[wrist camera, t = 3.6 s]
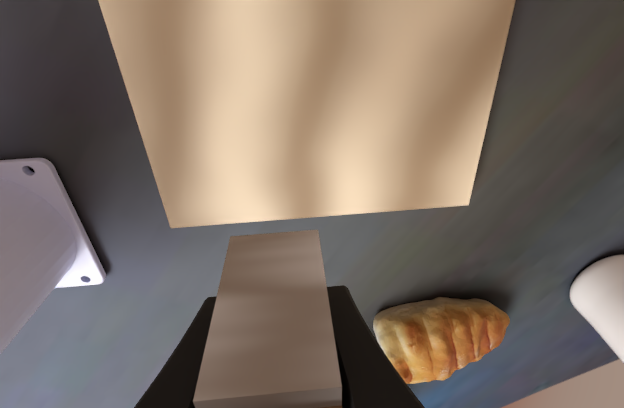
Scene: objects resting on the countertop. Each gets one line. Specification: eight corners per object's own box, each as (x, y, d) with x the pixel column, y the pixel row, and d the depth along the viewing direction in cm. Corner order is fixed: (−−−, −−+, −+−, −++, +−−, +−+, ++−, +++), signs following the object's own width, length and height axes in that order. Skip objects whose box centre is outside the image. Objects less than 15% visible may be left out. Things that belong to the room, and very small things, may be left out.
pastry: (495, 273, 23) (530, 318, 20) (495, 333, 27) (525, 379, 23) (364, 308, 24) (377, 357, 21) (381, 361, 27) (394, 410, 24)
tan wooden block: (246, 311, 12) (224, 492, 7) (230, 236, 10) (190, 413, 6) (320, 304, 12) (342, 479, 7) (318, 229, 10) (343, 397, 6)
